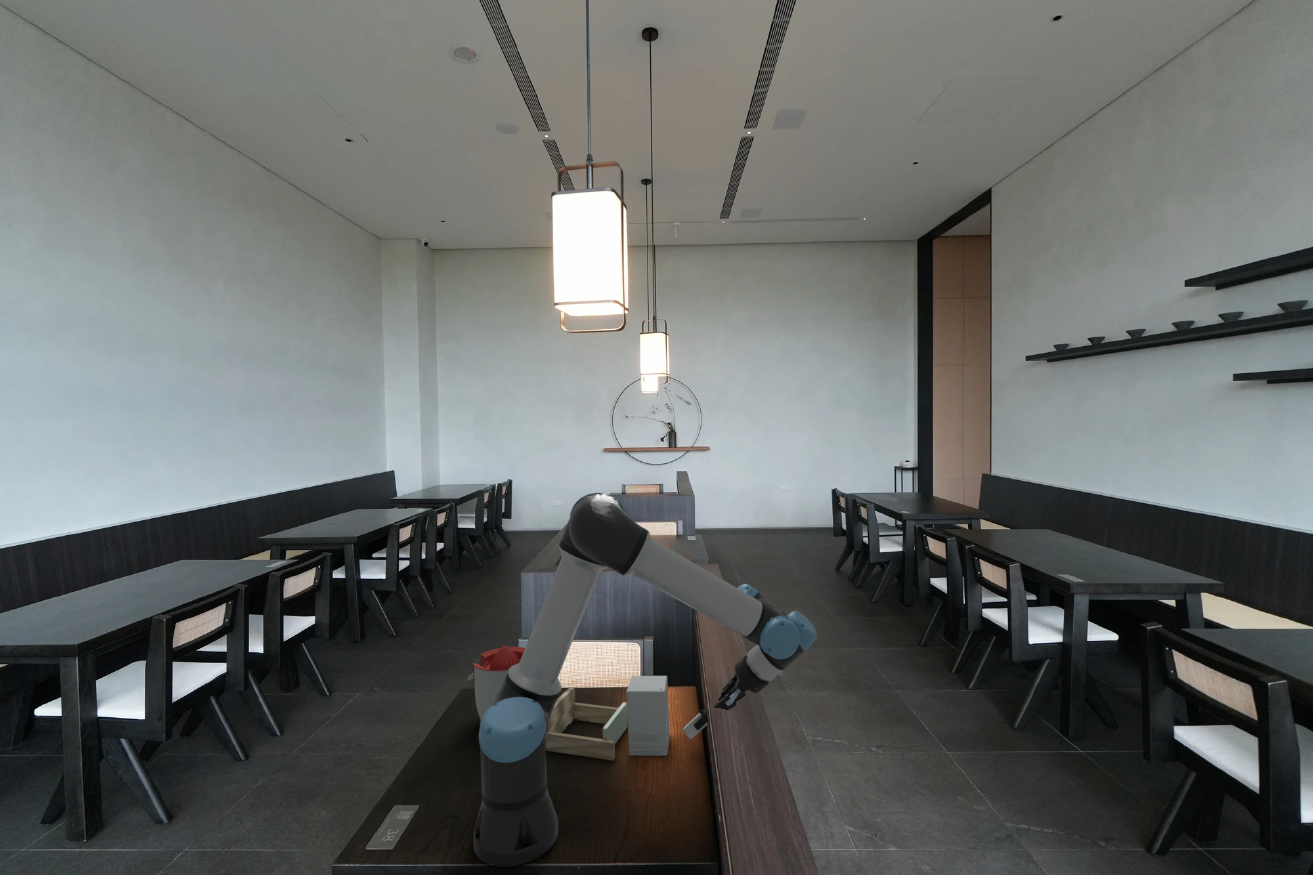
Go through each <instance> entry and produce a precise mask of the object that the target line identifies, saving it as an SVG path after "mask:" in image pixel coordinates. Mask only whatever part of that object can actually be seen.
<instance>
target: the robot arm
mask: <svg viewBox="0 0 1313 875" xmlns="http://www.w3.org/2000/svg"><path fill="white" fill-rule="evenodd" d="M558 549H559V551H560V553H561V559H560V561H559V563H558V567H557V569H556V570H555V574H554V576H553V578H552V581H551V584H550V586H549V588H548V590H547V594H546V595H545V598H544V601H543V604H542V606H541V608H540V610H539V613H538V616H537V618H536V620H535V624H534V625H533V628H532V631H531V633H530V635H529V638H528V641H527V643H526V645H525V647H524V648H525V650H524V653H523V655H522V658H521V660H520V663H518V664H516V665H513V666H512V667H510V668H509V670H508V673H507V675H506V678H505V680H504V683H503V685H502V687H501V689H500V690H499V692H498V693H497V696H496V699H495V702H494V706H491V707H490V708H489V709H488V710H487V711H486V712H485V713H484V715H483V717H482V719H481V720H480V723H479V731H478V742H479V748H480V751H479V752H480V773H481V774H480V777H481V800H482V801H481V804H480V808H479V812H478V816H477V819H476V821H475V826H474V828H473V836H472V838H473V841H472V842H473V851H474V854H475V856H476V858H478V860H480V861H481V862H483V863H484V862H485V863H484V864H486V863H488V864H492V865H493V866H492V865H491V866H492V867H498V868H511V867H512V868H513V867H518V866H521V865H520V864H522V865H525V864H527V863H531V862H533V861H535V860H536V859H539V858H540V857H542V856H543V855H544V854H546V853H547V852H548V851H549V850H550V849H551V848H552V847H553V846H554V844H555V842H556V841H557V839H558V838H557V837H558V835H559V834H558V833H559V822H558V815H557V812H556V810H555V808H554V804H553V801H552V799H551V797H550V796H551V795H550V792H549V791H548V783H547V782H548V780H547V779H548V776H547V775H548V774H547V751H546V741H547V732H548V724H549V719H550V716H551V714H552V711H553V709H554V706H555V704H556V701H557V699H558V698H559V697H560V693H561V691H562V683H561V681H560V680H559V676H560V674H561V671H562V669H563V666H564V664H565V661H566V659H567V656H568V653H569V651H570V649H571V646H572V643H573V642H574V638H575V636H576V634H577V631H578V629H579V626H580V623H581V621H582V618H583V616H584V613H585V611H586V608H587V606H588V603H589V601H590V598H591V596H592V594H593V591H594V589H595V586H596V584H597V580H598V578H599V575H600V574H601V572H602V571H604V570H606V569H610V570H611V571H614V572H616V573H618V574H619V575H621V576H623V577H626V576H629V575H632V576H635V577H637V578H638V579H640V580H642V581H643V582H645V583H647V584H649V585H651V586H652V587H654V588H656V589H658V590H660V591H661V592H663V593H665V594H666V595H669V596H670V597H672V598H673V599H675V600H676V601H679V602H681V603H682V604H684V605H687V606H688V607H690V608H692V609H693V610H695V611H697V612H699V613H700V614H703V615H704V616H707V617H708V618H710V619H711V620H713V621H715V622H717V623H718V624H720V625H722V626H724V627H726V628H727V629H730V630H731V631H732V632H735V633H736V634H738V635H740V636H742V637H743V638H745V639H746V640H748V641H750V642H752V643H753V644H755V646H754V647H752V648H751V649H750V650H749V651H748V652H747V655H745V656H743V657H742V658H741V659H740V660H739V661H738V662H737V663H736V664H735V665H734V672H735V674H734V675H733V676H732V677H731V678H730V680H729V681H728V682H727V683H726V684H725V685H724V686H723V687H724V688H723V687H722V688H723V691H722V693H721V696H720V697H719V699H718V700H719V702H717V703H716V704H715V706H714V707H715V708H721V709H725V710H728V711H729V710H731V709H733V708H734V707H736V706H737V701H739V700H742V699H744V697H745V696H746V692H747V691H749V692H751V693H752V694H759V693H760V692H762V691H763V689H765V688H766V687H767V686H768V685H769V682H771V681H773V680H774V679H775V678H776V677H777V676H779V677H781V676H783V670H785V669H787V667H789V666H790V665H791V664H792V663H793V662H794V661H796V659H797V658H800V656H801V655H802V654H803V653H805V652H807V650H808V649H809V648H810V647H811V646H812V645H813V643H814V642H815V641H816V640H817V638H818V634H817V630H816V628H815V627H814V626H815V625H814V624H812V622H811V621H810V620H809V618H808V617H807V616H806V615H804V614H803V613H802V612H799V611H798V610H792V611H791V612H790V613H788V614H786V613H785V612H783V611H781V610H780V609H779V608H778V607H777V606H776V605H774V604H773V603H772V601H770V600H769V599H768V598H766V597H765V596H764V594H762V593H760V592H759V590H758V589H756V588H754V587H753V586H751V585H750V584H748V583H744V584H741V585H739V586H738V587H736V586H734V585H732V584H731V583H730V582H728V581H726V580H724V579H722V578H721V577H719V576H717V575H715V574H714V573H713V572H710V571H709V570H706V569H705V568H703V567H702V566H699V565H698V564H697V563H695V562H693V561H691V560H689V559H687V558H686V557H684V556H682V555H681V554H679V553H677V552H675V551H674V550H672V549H670V548H668V547H667V546H666V545H663V544H662V543H660V542H658V541H656V540H654V539H653V538H652V536H651V533H650V531H649V530H648V529H647V528H644V527H643V526H641V525H640V524H638V523H637V522H636V521H634V520H633V519H632V518H631V517H630V516H629V515H628V514H627V513H626V511H625V509H624V507H623V505H622V503H621V502H620V501H619V500H618V499H617V498H616V497H613V496H611V495H609V494H607V493H603V492H591V493H587V494H585V495H584V496H581V497H580V498H579V499H578V500H577V501H576V502H574V504H573V506H572V508H571V510H570V512H569V519H568V522H567V525H566V526H565V529H564V532H563V534H562V536H561V540H560V541H559V543H558ZM756 688H757V689H756ZM758 692H759V693H758ZM707 713H708V712H707V711H706V706H705V707H704V709H703V708H701V709H700V710H699V713H698V714H697V715H696V716H695V717H693V718H692V719H691V720H690V721H689V722H688V723H687V724H686V725H684V727H683V729H682V732H683V733H684V734H685V735H686V736H687V737H688V738H689V739H690V740H692V739H693V738H695V737H696V735H698V734H699V733H700V732H701V731H702V730H704V728H705V727H707V725H708V724H707V723H708V719H707V718H708V717H707ZM488 864H487V865H488ZM517 865H518V866H517Z"/></svg>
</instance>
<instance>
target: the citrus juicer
mask: <svg viewBox="0 0 1313 875" xmlns="http://www.w3.org/2000/svg"><path fill="white" fill-rule="evenodd" d="M525 648H526V647H522V646H507V645H502V647H498V648H494V649H490V650H487V651H485V652H483V653H481V654H480V664H479V663H474V662H473V663H472V673H471V674H470V675H469V676H467V681H472V680H473V684H474V698H475V705H476V709H477V713H478V717H479V721H481V719H482V717H483V715H484V713H485V712H486V711H487V710H488V709H489V708H490V707H491V706H494V702H495V699H496V696H497V693H498V692H499V690H500V689H501V687H502V685H503V683H504V680H505V678H506V675H507V673H508V670H509V668H510V667H512V666H513V665H516V664H518V663H520V660H521V658H522V655H523V653H524V650H525Z"/></svg>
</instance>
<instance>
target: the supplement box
mask: <svg viewBox="0 0 1313 875" xmlns="http://www.w3.org/2000/svg"><path fill="white" fill-rule="evenodd" d="M625 693H626V703H627V713H628V727H627V733H628V755H629V756H642V757H643V756H647V757H649V756H652V757H653V756H655V757H663V756H664V757H666V756H668V752H669V744H670V738H671V737H670V732H671V731H670V713H669V712H670V709H669V689H668V676H667V675H631V677H630V682H629V683H628V686H627V689H626V692H625Z"/></svg>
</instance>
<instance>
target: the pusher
mask: <svg viewBox="0 0 1313 875" xmlns="http://www.w3.org/2000/svg"><path fill="white" fill-rule="evenodd" d="M617 708H618V709H617V711H616V712H615V713H614V715H613V716H612V717H611V718H610V720H609V721H608V722H607V723H606V724H604V726H603V728H602V739H605V740H613V741H615V745H616V744H617V743H618V741H619V739H620V738H621V737H622V735H623V734H624V733H625V731H626V730H627V729H628V719H627V701H626V702H624V701H623V702H622V703H621V705H620V706H619V707H617Z"/></svg>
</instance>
